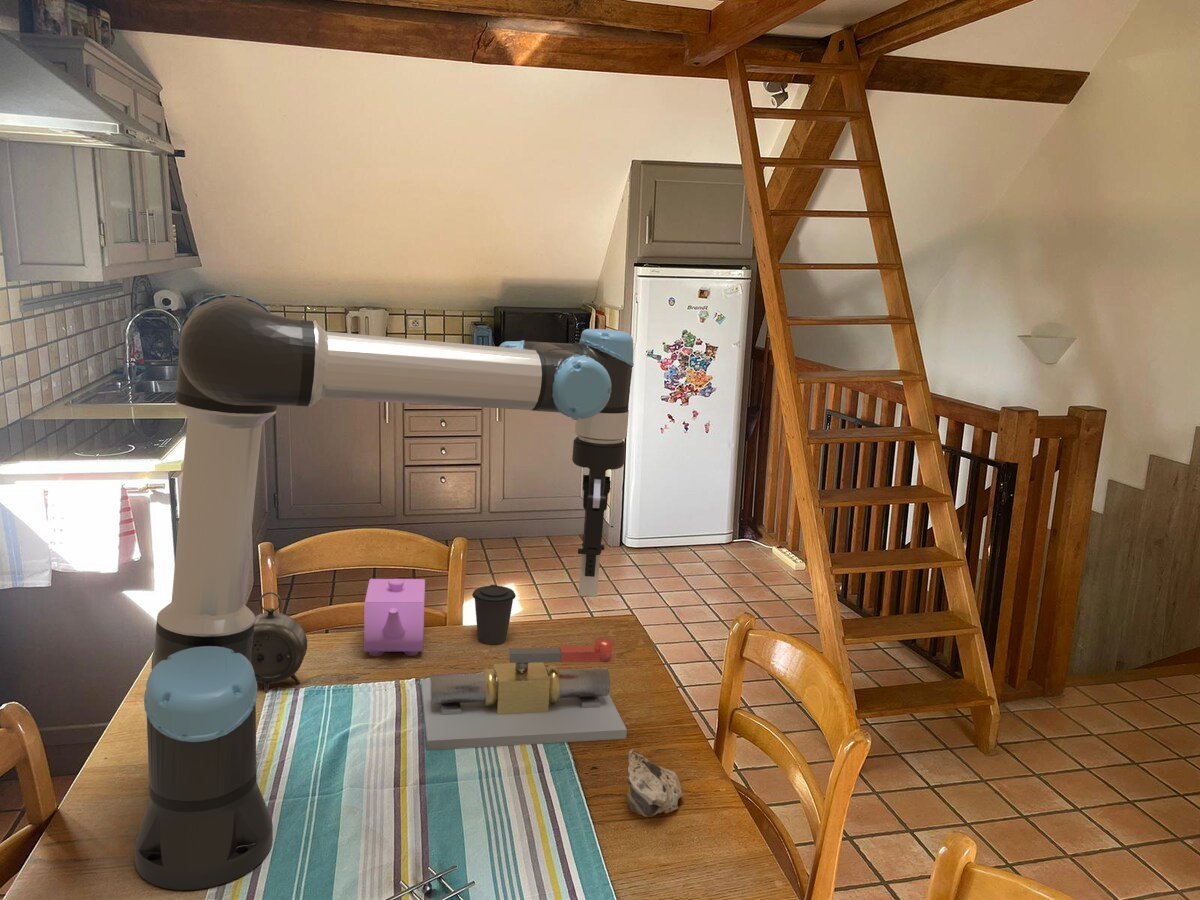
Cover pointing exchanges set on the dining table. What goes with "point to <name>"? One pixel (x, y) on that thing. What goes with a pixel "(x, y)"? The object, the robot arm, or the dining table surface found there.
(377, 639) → the pink toy block
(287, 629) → the alarm clock
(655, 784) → the rock
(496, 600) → the coffee cup
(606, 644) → the lever
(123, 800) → the dining table surface
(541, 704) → the valve body
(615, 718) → the mount board
